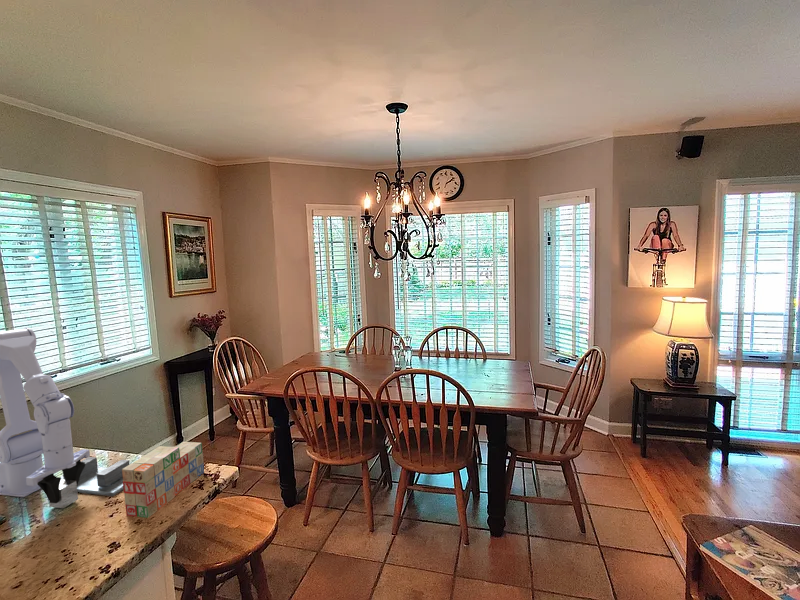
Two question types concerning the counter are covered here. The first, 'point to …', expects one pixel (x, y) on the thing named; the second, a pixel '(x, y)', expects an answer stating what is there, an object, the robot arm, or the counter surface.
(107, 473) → the block
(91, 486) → the base
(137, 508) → the stack of blocks
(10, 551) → the counter surface
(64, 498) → the aluminium block
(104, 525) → the counter surface
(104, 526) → the counter surface
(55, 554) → the counter surface
